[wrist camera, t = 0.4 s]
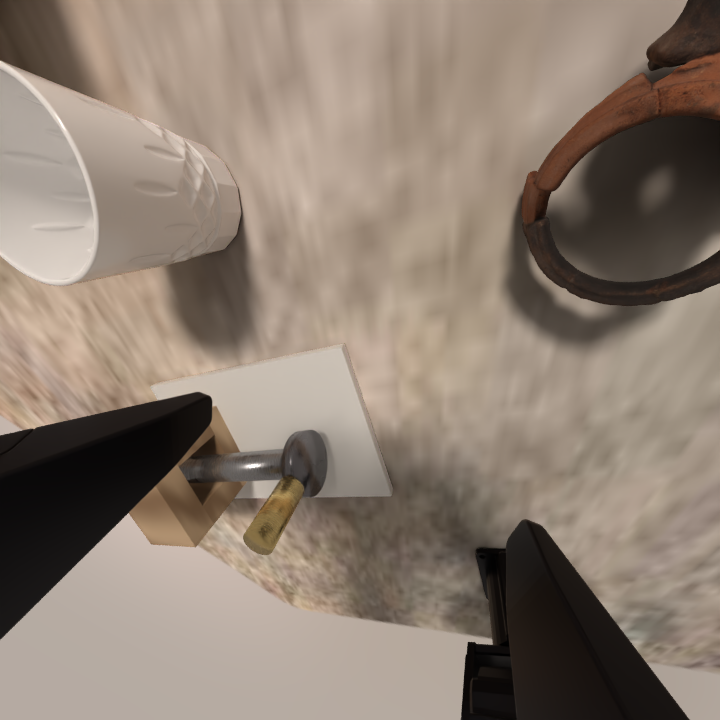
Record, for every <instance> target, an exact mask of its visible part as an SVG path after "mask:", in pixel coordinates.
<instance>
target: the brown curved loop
mask: <svg viewBox="0 0 720 720" xmlns="http://www.w3.org/2000/svg"><path fill="white" fill-rule="evenodd" d="M646 55H647V58H648V59H649V62H648V67H649V69H650V70H651V71H654V70H657V69H660V68H663V67H675V66H680V65H682V66H680V67H678V68H677V69H675V70H674V71H673V72H672V73H671V74H670V75H668V76H666V77H664V78H663V79H661V80H659V81H657V82H655V83H651V82H650V81H649V79H648V78H647V76H646V75H645V74H644V73H640V74H639V75H637V76H635V77H633V78H632V79H630V80H629V81H627V82H626V83H625V84H624V85H622V86H621V87H620V88H618V89H617V90H615V91H614V92H613V93H612V94H610V95H609V96H607V97H606V98H605V99H604V100H603V101H602V102H601V103H600V104H598V105H597V106H595V107H594V108H593V109H592V110H590V111H589V112H588V113H586V114H585V115H584V116H583V117H582V118H581V119H580V120H579V121H578V122H577V124H576V125H575V126H574V127H572V129H571V130H570V131H569V132H568V133H567V134H566V135H565V136H564V137H563V138H562V139H561V140H560V141H559V142H558V143H557V144H556V145H555V146H554V148H553V149H552V150H551V152H550V153H549V154H548V156H547V157H546V159H545V160H544V162H543V164H542V165H541V167H540V168H539V170H538V172H537V171H532V172H530V173H529V174H528V176H527V179H526V184H525V187H524V193H523V199H522V218H523V220H524V222H523V225H522V226H523V231H524V234H525V236H526V238H527V241H528V244H529V248H530V251H531V253H532V255H533V256H534V258H535V260H536V262H537V264H538V266H539V268H540V269H541V270H542V272H543V273H544V274H545V275H546V276H547V278H549V279H550V280H552V281H553V282H554V283H555V284H557V285H558V286H560V287H562V288H566V289H567V290H568V292H570V293H572V294H574V295H576V296H578V297H580V298H583V299H588V300H591V301H594V302H598V303H602V304H608V305H621V306H637V305H652V304H656V303H659V302H661V301H669V300H673V299H676V298H680V297H684V296H686V295H689V294H693V293H697V292H701V291H703V290H704V289H706V288H708V287H711V286H714V285H717V284H719V283H720V250H719V251H718V252H717V253H715V254H714V255H712V256H711V257H709V258H708V259H706V260H705V261H703V262H701V263H699V264H697V265H695V266H693V267H691V268H689V269H687V270H685V271H682V272H680V273H677V274H674V275H672V276H669V277H665V278H660V279H655V280H650V281H644V282H613V281H607V280H602V279H598V278H595V277H592V276H590V275H587V274H585V273H583V272H581V271H579V270H577V269H576V268H575V267H574V266H573V265H571V264H570V263H569V262H568V261H566V260H565V258H564V257H563V256H562V255H561V254H560V253H559V251H558V249H557V248H556V245H555V242H554V240H553V238H552V234H551V231H550V223H549V219H548V218H547V217H546V216H545V215H546V209H547V205H548V200H549V197H550V194H551V192H552V191H555V190H556V189H557V188H558V187H559V186H560V185H561V183H562V182H563V180H564V179H565V178H566V176H567V175H568V173H569V172H570V171H571V169H572V168H573V167H574V166H575V165H576V164H577V163H578V162H579V161H580V160H581V159H582V158H583V157H584V156H585V155H586V154H587V153H588V152H590V151H591V150H592V149H594V148H595V147H596V146H598V145H599V144H601V143H602V142H604V141H605V140H607V139H609V138H610V137H612V136H614V135H616V134H618V133H620V132H622V131H624V130H626V129H628V128H631V127H633V126H636V125H640V124H643V123H646V122H649V121H651V120H653V119H655V118H661V117H671V116H697V117H704V118H711V119H715V120H718V121H720V0H688V1H687V4H686V6H685V8H684V10H683V12H682V13H681V15H680V16H679V18H678V19H677V21H676V22H675V24H674V25H673V26H672V27H671V28H670V29H669V30H668V31H667V32H666V33H665V34H663V35H662V36H661V37H660V38H658V39H657V40H656V41H655V42H654V43H653V44H651V45H650V46H649V48H648V49H647V52H646Z"/></svg>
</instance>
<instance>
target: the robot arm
mask: <svg viewBox="0 0 720 720" xmlns="http://www.w3.org/2000/svg"><path fill="white" fill-rule="evenodd" d="M211 421H212V398H211V396H209V395H207V394H204V393H201V392H194V393H189V394H185V395H180V396H176V397H171V398H167V399H162V400H158V401H153V402H149V403H144V404H140V405H135V406H131V407H126V408H122V409H117V410H113V411H108V412H104V413H99V414H95V415H90V416H86V417H81V418H77V419H72V420H68V421H63V422H59V423H54V424H50V425H45V426H41V427H37V428H35V429H27V430H23V431H18V432H15V433H10V434H5V435H0V639H2V638H3V637H4V636H5V634H6V633H8V632H9V631H10V629H12V628H13V627H14V626H15V625H16V624H17V623H18V622H19V621H20V620H21V619H22V618H23V617H24V616H25V615H26V614H27V613H28V612H29V611H30V610H31V609H32V608H33V607H34V606H35V605H36V604H37V603H38V602H39V601H40V600H41V599H42V598H43V597H44V596H45V595H46V594H47V593H48V592H49V591H50V590H51V589H52V588H53V587H54V586H55V585H56V584H57V583H58V582H59V581H60V580H61V579H62V578H63V577H64V576H65V575H66V574H67V573H68V572H69V571H70V570H71V569H72V568H73V567H74V566H75V565H76V564H77V563H78V562H79V561H80V560H81V559H82V558H83V557H84V556H85V555H86V554H87V553H88V552H89V551H90V550H91V549H92V548H93V547H94V546H95V545H96V544H97V543H98V542H100V541H101V540H102V539H103V537H105V536H106V534H107V533H109V532H110V531H111V530H112V529H113V528H114V527H115V526H116V525H117V524H118V523H119V522H120V521H121V520H122V519H123V518H124V516H126V515H127V514H128V513H129V512H130V511H131V510H132V509H133V508H134V507H135V506H136V505H137V504H138V503H139V502H140V501H141V500H142V499H143V498H144V497H145V496H146V495H147V494H148V493H149V492H150V491H151V490H152V489H153V488H154V487H155V486H156V485H157V484H158V483H159V482H160V481H161V480H162V479H163V478H164V477H165V476H166V475H167V474H168V473H169V472H170V471H171V470H172V469H173V468H174V467H175V466H176V465H177V463H178V462H179V461H180V460H181V459H182V458H183V456H184V455H185V454H186V453H187V452H188V450H189V449H190V448H191V447H192V446H193V445H194V443H195V442H196V441H197V440H198V439H199V437H200V436H201V435H202V434H203V433H204V431H205V430H206V429H207V428H208V426H209V425H210V423H211ZM476 557H477V562H478V566H479V570H480V574H481V578H482V582H483V587H484V591H485V595H486V598H487V599H488V601H489V611H490V621H491V630H492V640H493V645H484V644H476V643H475V642H468V646H467V655H466V658H465V672H464V686H463V701H462V713H461V716H462V717H461V720H689V718H688V717H687V716H686V714H685V713H684V712H683V710H682V709H681V708H680V707H679V705H678V704H677V703H676V701H675V700H674V699H673V697H672V696H671V695H670V693H669V692H668V691H667V689H666V688H665V687H664V686H663V684H662V683H661V682H660V680H659V679H658V678H657V676H656V675H655V674H654V672H653V671H652V670H651V668H650V667H649V666H648V664H647V663H646V662H645V660H644V659H643V658H642V656H641V655H640V654H639V653H638V651H637V650H636V649H635V647H634V646H633V645H632V643H631V642H630V641H629V639H628V638H627V637H626V635H625V634H624V633H623V631H622V630H621V629H620V628H619V626H618V625H617V624H616V622H615V621H614V620H613V618H612V617H611V616H610V614H609V613H608V612H607V610H606V609H605V608H604V606H603V605H602V604H601V602H600V601H599V600H598V599H597V597H596V596H595V595H594V593H593V592H592V591H591V589H590V588H589V587H588V585H587V584H586V583H585V581H584V580H583V579H582V577H581V576H580V575H579V574H578V572H577V571H576V570H575V568H574V567H573V566H572V564H571V563H570V562H569V560H568V559H567V558H566V556H565V555H564V554H563V552H562V551H561V550H560V549H559V547H558V546H557V545H556V543H555V542H554V541H553V539H552V538H551V537H550V535H549V534H548V533H547V531H546V530H545V529H544V528H543V527H542V526H541V525H539V524H537V523H535V522H532V521H530V520H527V519H524V520H522V521H521V522H520V523H519V524H518V526H517V527H516V528H515V530H514V531H513V533H512V534H511V535H510V537H509V538H508V541H507V545H506V550H505V549H483V548H480V549H477V550H476Z"/></svg>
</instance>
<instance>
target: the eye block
mask: <svg viewBox="0 0 720 720" xmlns="http://www.w3.org/2000/svg"><path fill="white" fill-rule="evenodd" d="M239 452H240V450H239V449H238V447H237V445H236V443H235V441H234V439H233V437H232V435H231V433H230V431H229V429H228V427H227V425H226V424H225V422H224V420H223V418H222V416H221V414H220V412H219V410H218V408H217V406H212V421H211V423H210V425H209V426H208V428H207V429H206V430H205V431H204V433H203V434H202V435H201V436H200V437H199V439H198V440H197V441H196V442H195V443H194V445H193V446H192V447H191V448H190V449H189V450H188V452H187V453H186V454H185V455H184V456H183V458H182V459H181V460H180V461H179V462H178V463H177V465H176V466H175V467H174V468H173V469H172V470H171V471H170V472H169V473H168V474H167V475H166V476H165V477H164V478H163V479H162V480H161V481H160V482H159V483H158V484H157V485H156V486H155V487H154V488H153V489H152V490H151V491H150V492H149V493H148V494H147V495H146V496H145V497H144V498H143V499H142V500H141V501H140V502H139V503H138V504H137V505H136V506H135V507H134V508H133V509H132V510H131V511H130V512H129V514H130V516H131V517H132V518H133V520H134V521H135V522H136V524H137V525H138V527H139V528H140V529H141V531H142V532H143V533H144V535H145V536H146V538H147V539H148V540H149V542H150V543H151V544H153V545H170V546H186V547H196V546H197V545H198V544H199V542H200V541H201V540H202V539H203V537H204V536H205V535H206V534H207V532H208V531H209V530H210V528H211V527H212V526H213V525H214V523H215V522H216V521H217V520H218V518H219V517H220V516H221V514H222V513H223V512H224V511H225V509H226V508H227V507H228V506H229V504H230V503H231V502H232V500H233V499H234V498H235V497H236V495H237V494H238V493H239V491H240V490H241V489H242V488H243V486H244V485H245V484H246V483H247V481H239V482H213V483H188V481H187V480H186V478H185V476H184V475H183V473H182V471H181V470H180V468H179V466H180V465H181V464H182V463H183V462H184V461H185V460H187V459H188V458H189V457H190V456H202V455H214V454H226V453H239Z"/></svg>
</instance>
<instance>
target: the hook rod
mask: <svg viewBox="0 0 720 720" xmlns="http://www.w3.org/2000/svg"><path fill="white" fill-rule="evenodd" d="M327 466H328V460H327V451H326V447H325V444H324V441H323V439H322V437H321V436H320V434H319V433H318V432H316V431H314V430H304V431H297V432H294V433H293V434H292V435H291V436H290V437H289V438H288V440H287V441H286V443H285V446H284V449H275V450H263V451H251V452H239V453H226V454H214V455H202V456H190V457H189V458H188V459H187V460H185V461H184V462H183V463H182V464H181V465H180V466H179V468H180V470H181V471H182V473H183V475H184V476H185V478H186V480H187V481H188V483H213V482H239V481H265V480H280V481H279V482H278V484H277V485H276V487H275V488H274V490H273V491H272V493H271V494H270V496H269V497H268V499H267V501H266V502H265V504H264V505H263V507H262V508H261V510H260V511H259V513H258V514H257V516H256V517H255V519H254V520H253V522H252V523H251V525H250V526H249V528H248V529H247V531H246V532H245V534H244V536H243V539H244V542H245V544H246V545H247V546H248V547H249V548H250V549H251V550H253V551H254V552H256V553H258V554H262V555H269V554H271V553H272V551H273V549H274V548H275V546H276V544H277V542H278V540H279V538H280V537H281V535H282V533H283V531H284V529H285V527H286V525H287V524H288V522H289V520H290V518H291V516H292V514H293V512H294V511H295V509H296V507H297V505H298V503H299V501H300V499H301V498H302V497H314V496H316V495H317V494H318V493H319V492H320V491H321V489H322V487H323V485H324V482H325V479H326V475H327Z"/></svg>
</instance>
